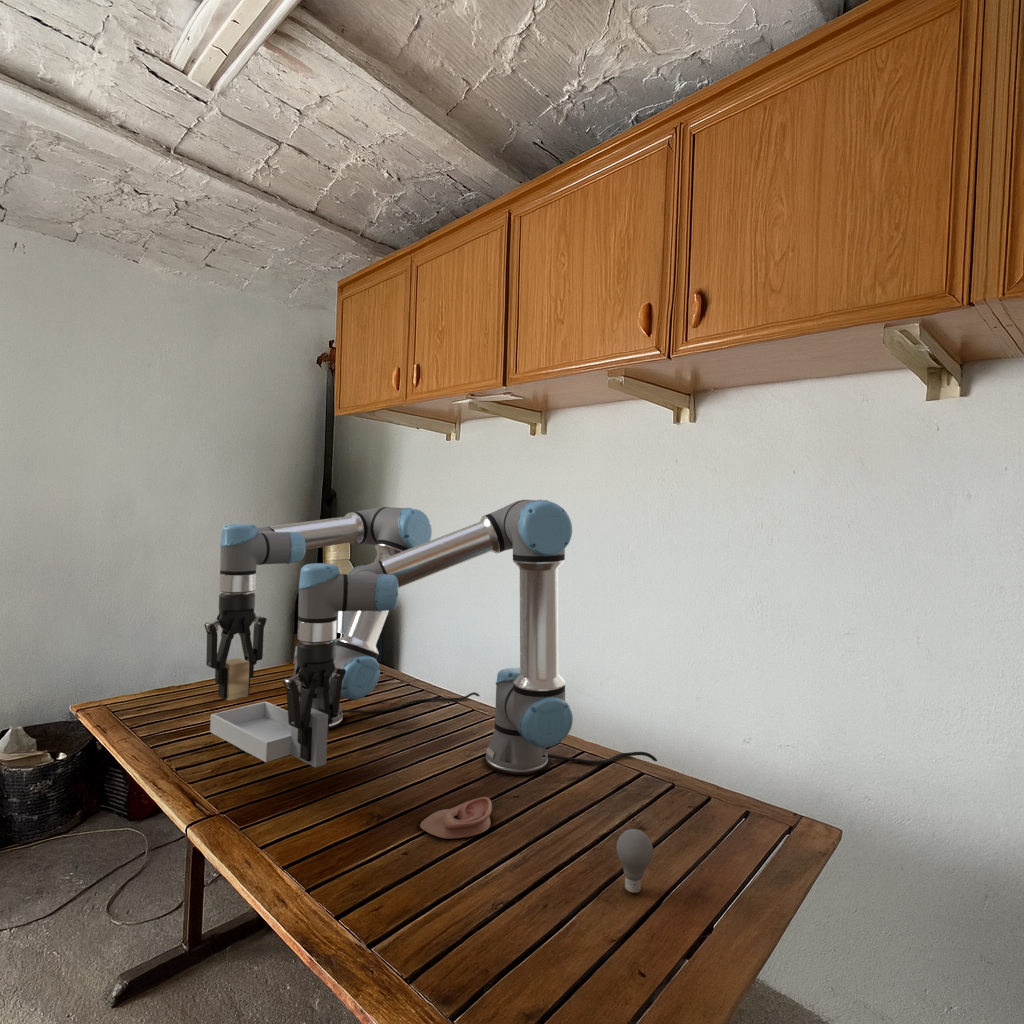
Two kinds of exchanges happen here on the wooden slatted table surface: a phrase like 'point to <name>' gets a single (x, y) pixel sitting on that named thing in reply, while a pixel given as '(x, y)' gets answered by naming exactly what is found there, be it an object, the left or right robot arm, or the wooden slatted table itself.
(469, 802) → the anatomical model
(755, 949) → the wooden slatted table surface
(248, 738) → the tray
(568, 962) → the wooden slatted table surface
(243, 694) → the birch block
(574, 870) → the wooden slatted table surface
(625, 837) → the light bulb
